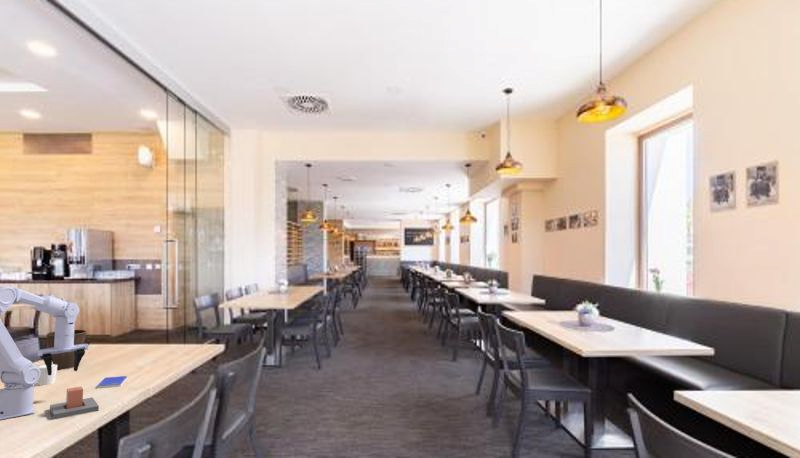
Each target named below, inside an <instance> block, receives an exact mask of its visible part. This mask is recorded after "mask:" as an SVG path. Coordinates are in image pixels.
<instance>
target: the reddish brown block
mask: <svg viewBox="0 0 800 458" xmlns="http://www.w3.org/2000/svg"><path fill="white" fill-rule="evenodd" d="M83 396H84V389H83V387H82V386H74V387H71V388H66V397H65V398H66V401H65V402H66V409H71V408H76V407H81V406H82V402H83V399H84V397H83Z"/></svg>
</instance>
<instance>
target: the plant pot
mask: <svg viewBox="0 0 800 458" xmlns="http://www.w3.org/2000/svg"><path fill="white" fill-rule="evenodd" d="M87 332H88V331H87V330H85V329H74V345H80V344H85V341H86V336H87ZM54 339H55V331H51V332H47V333H46V340H47V341H46V342H47V348H53V347H54ZM58 352H59V351H58ZM51 355H52V357H53V358H52V364H57V370H66V369H71V368H74V351H71V352H64V353H56V354H51Z"/></svg>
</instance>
